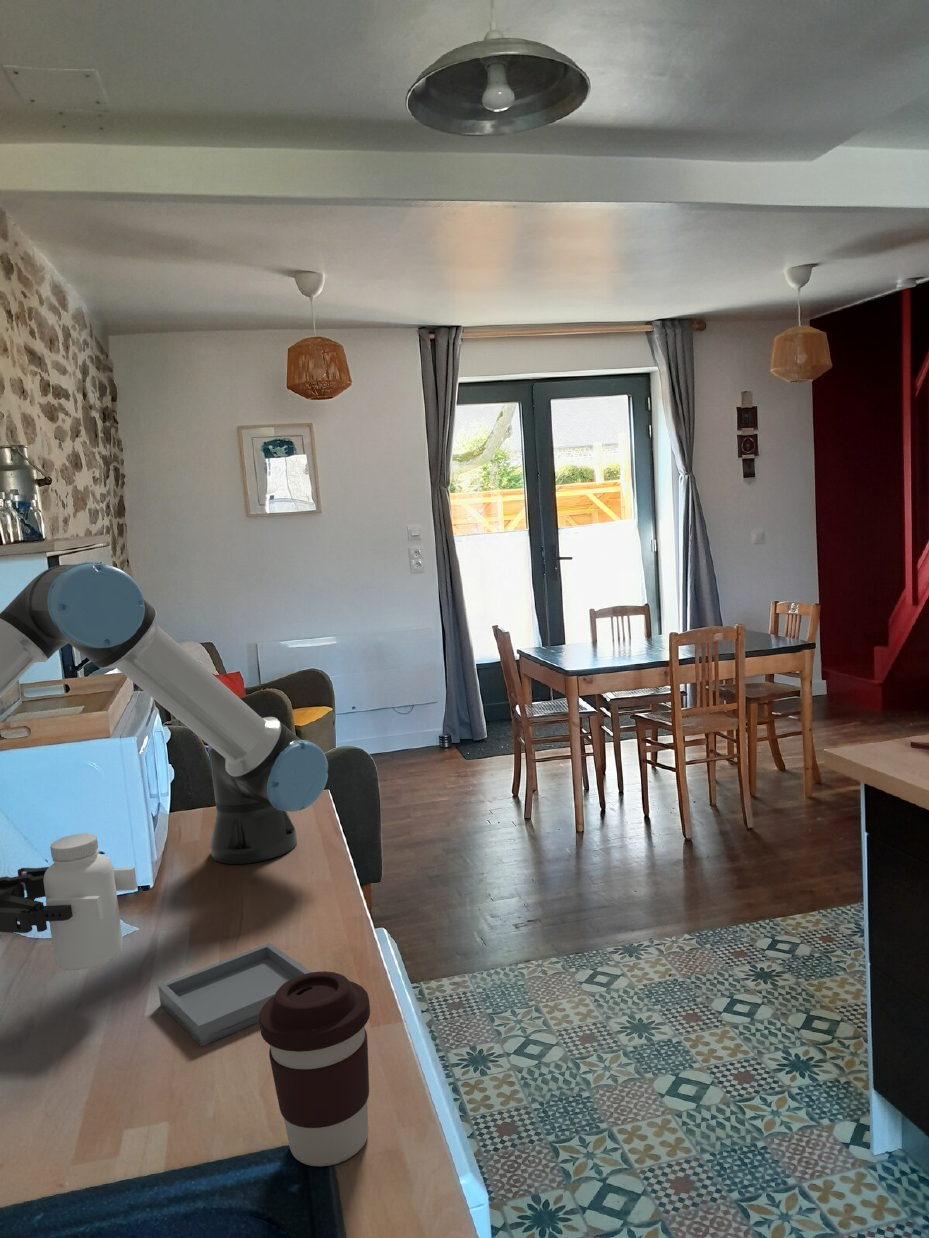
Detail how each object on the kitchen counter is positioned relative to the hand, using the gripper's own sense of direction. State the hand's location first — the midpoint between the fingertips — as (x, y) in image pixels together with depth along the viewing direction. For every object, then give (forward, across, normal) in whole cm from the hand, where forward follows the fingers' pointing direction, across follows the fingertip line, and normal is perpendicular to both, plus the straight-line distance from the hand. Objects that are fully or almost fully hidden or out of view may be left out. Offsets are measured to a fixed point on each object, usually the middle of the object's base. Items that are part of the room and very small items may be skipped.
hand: (117, 892), depth 113 cm
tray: (+14, 0, -14) cm, 20 cm away
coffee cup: (+32, +25, -15) cm, 43 cm away
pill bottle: (-5, 0, -8) cm, 9 cm away
